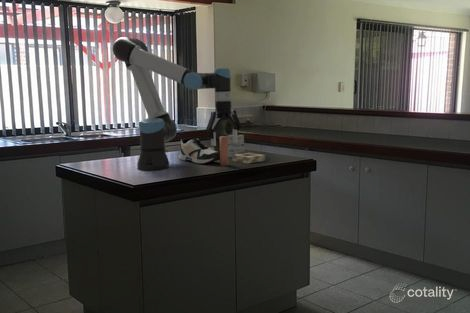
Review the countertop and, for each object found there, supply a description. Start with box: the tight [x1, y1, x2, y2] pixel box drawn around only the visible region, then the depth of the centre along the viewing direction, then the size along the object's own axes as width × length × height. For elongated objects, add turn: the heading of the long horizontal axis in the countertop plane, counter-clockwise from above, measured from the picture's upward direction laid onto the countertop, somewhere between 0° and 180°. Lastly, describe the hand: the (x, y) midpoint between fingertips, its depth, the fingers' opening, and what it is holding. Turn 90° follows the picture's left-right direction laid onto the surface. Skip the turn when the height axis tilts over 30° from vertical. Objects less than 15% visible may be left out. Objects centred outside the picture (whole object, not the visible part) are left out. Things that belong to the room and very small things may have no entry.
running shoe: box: [178, 137, 220, 165], centre depth 246 cm, size 11×30×12 cm, turn 45°
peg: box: [219, 136, 229, 166], centre depth 235 cm, size 4×4×14 cm
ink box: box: [228, 134, 245, 158], centre depth 261 cm, size 9×5×12 cm, turn 84°
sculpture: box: [212, 115, 235, 153], centre depth 271 cm, size 12×14×30 cm
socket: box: [231, 152, 266, 164], centre depth 247 cm, size 12×12×3 cm
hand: (224, 144), depth 234 cm, fingers open, 13 cm apart
